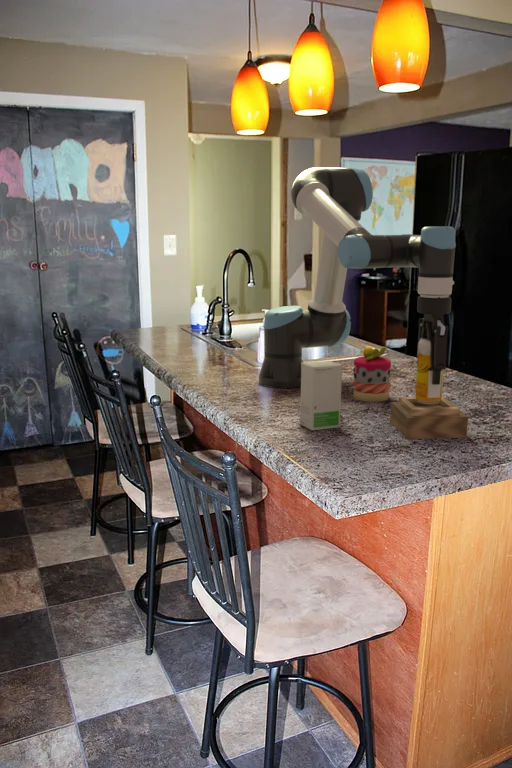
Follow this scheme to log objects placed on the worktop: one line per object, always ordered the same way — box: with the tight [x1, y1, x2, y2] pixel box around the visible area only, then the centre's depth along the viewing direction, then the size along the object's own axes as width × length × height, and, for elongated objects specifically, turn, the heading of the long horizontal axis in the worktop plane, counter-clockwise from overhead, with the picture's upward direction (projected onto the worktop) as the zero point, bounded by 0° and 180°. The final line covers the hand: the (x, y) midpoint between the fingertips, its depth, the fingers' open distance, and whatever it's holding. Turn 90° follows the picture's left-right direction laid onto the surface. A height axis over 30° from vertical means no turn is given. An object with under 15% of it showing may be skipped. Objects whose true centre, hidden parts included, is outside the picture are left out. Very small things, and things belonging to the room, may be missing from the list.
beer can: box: [414, 338, 445, 404], centre depth 154 cm, size 6×6×15 cm
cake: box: [351, 346, 392, 403], centre depth 185 cm, size 10×11×15 cm
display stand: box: [390, 396, 469, 440], centre depth 157 cm, size 14×14×6 cm
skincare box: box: [299, 360, 343, 431], centre depth 159 cm, size 8×7×16 cm
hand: (428, 393), depth 155 cm, fingers closed on beer can, 6 cm apart
